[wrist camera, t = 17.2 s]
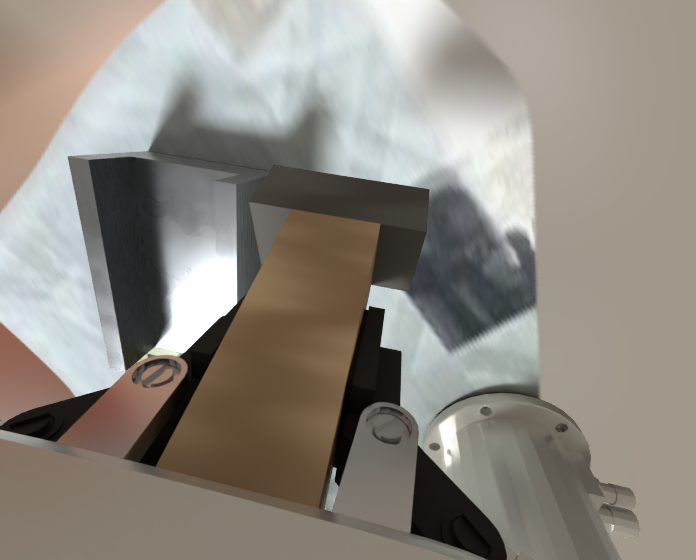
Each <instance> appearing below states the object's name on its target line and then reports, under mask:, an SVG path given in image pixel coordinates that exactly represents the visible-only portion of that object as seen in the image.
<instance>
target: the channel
mask: <svg viewBox="0 0 696 560" xmlns="http://www.w3.org/2000/svg"><path fill="white" fill-rule="evenodd" d="M68 160H69V165H70V170H71V175H72V180H73V185H74V190H75V195H76V200H77V205H78V210H79V215H80V220H81V225H82V230H83V235H84V240H85V245H86V250H87V255H88V261H89V266H90V271H91V276H92V281H93V286H94V291H95V296H96V301H97V306H98V311H99V316H100V321H101V326H102V331H103V336H104V341H105V346H106V351H107V356H108V361H109V366H110V368H113V369H117V370H122V371H127V370H128V369H129V368H130V367H131V366H133V365H134V364H135V363H136V362H137V361H139V360H140V359H141V358H142V357H143V356H145V355H146V354H147V353H148V352H149V351H151V350H152V349H153V348H154V347H158V348H162V349H167V350H171V351H176V352H180V353H184V352H185V351H186V350H187V349H188V348H189V347H190V346H191V345H192V344H193V343H194V342H195V341H196V340H197V339H198V338H199V337H200V336H201V335H202V334H203V333H204V332H205V331H206V330H207V329H208V328H209V327H210V326H211V325H212V324H213V323H214V322H215V321H216V320H217V319H218V318H220V317H221V316H223V315H226V314H227V313H228V312H229V311H230V310H231V309H232V308H233V307H234V306H235V305H236V304H237V303H238V301H239V300H240V299H241V298H242V297H243V296H244V295H245V294H246V293H247V292H248V291H249V289H250V287H251V285H252V283H253V281H254V280H255V278H256V276H257V274H258V272H259V270H260V268H261V266H262V264H261V260H260V255H259V250H258V245H257V240H256V235H255V230H254V225H253V220H252V215H251V210H250V204H249V201H250V200H251V198H252V197H253V195H254V194H255V193H256V191H257V190H258V188H259V187H260V185H261V184H262V182H263V181H264V179H265V178H266V177H267V175H268V174H269V172H270V171H266V170H260V169H254V168H247V167H241V166H235V165H229V164H223V163H216V162H210V161H204V160H198V159H192V158H185V157H179V156H173V155H167V154H161V153H155V152H148V151H146V152H130V153H113V154H97V155H81V156H68Z"/></svg>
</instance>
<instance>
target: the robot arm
mask: <svg viewBox="0 0 696 560" xmlns="http://www.w3.org/2000/svg"><path fill="white" fill-rule="evenodd" d="M247 293H248V292H247ZM247 293H246V294H245V295H244V296H243V297H242V298H241V299H240V300H239V301H238V303H237V304H236V305H235V306H234V307H233V308H232V309H231V310H230V311H229V312H228V313H227V314H226V315H223V316H221V317H220V318H218V319H217V320H216V321H215V322H214V323H213V324H212V325H211V326H210V327H209V328H208V329H207V330H206V331H205V332H204V333H203V334H202V335H201V336H200V337H199V338H198V339H197V340H196V341H195V342H194V343H193V344H192V345H191V346H190V347H189V348H188V349H187V350H186V351H185V352H184V353H183V354H182V355H181V356H180V357H177V356H173V355H159V356H153V357H149V358H146V359H144V360H142V361H140V362H138V363H136V364H135V365H133V366H132V367H131V368H130V369H129V370H128V371H127V372H126V373H125V374H124V375H123V376H122V377H121V378H120V379H119V380H118V381H117V382H116V383H115V384H114V385H113V386H112V387H111V388H107V389H104V390H100V391H96V392H93V393H89V394H85V395H82V396H78V397H75V398H71V399H68V400H64V401H60V402H57V403H53V404H49V405H46V406H42V407H38V408H35V409H32V410H29V411H26V412H24V413H21V414H19V415H17V416H15V417H14V418H12V419H10V420H8V421H7V422H6V423H4V424H3V423H2V421H1V420H0V560H621V558H620V556H619V554H618V552H617V550H616V548H615V546H614V544H613V542H612V540H611V538H610V536H609V534H614V535H618V536H622V537H626V538H630V539H636V538H637V537H638V536H639V532H640V528H639V522H638V520H637V517H636V515H635V514H634V513H633V512H632V511H631V510H629V509H633V508H634V507H635V504H636V500H635V496H634V493H633V492H632V491H631V489H629V488H626V487H621V486H617V485H613V484H604V483H600V482H599V480H598V479H596V478H595V477H594V476H593V474H592V472H591V470H590V461H591V455H590V450H589V445H588V443H587V441H586V440H585V438H584V436H583V434H582V432H581V430H580V429H579V428H578V426H577V425H576V423H575V422H574V420H573V419H571V418H570V417H569V416H568V415H567V414H566V413H565V412H564V411H562V410H561V409H559V408H557V407H555V406H554V405H552V404H550V403H548V402H545V401H543V400H540V399H538V398H535V397H530V396H526V395H521V394H511V393H494V394H484V395H479V396H475V397H470V398H467V399H465V400H462V401H460V402H457V403H455V404H453V405H452V406H450V407H448V408H447V409H445V410H444V411H443V412H441V413H440V414H439V415H438V416H437V417H436V418H435V419H434V420H433V422H432V423H431V424H430V426H429V427H428V429H427V432H426V434H425V437H424V442H423V450H422V449H421V448H420V447H419V446H418V436H419V431H418V425H417V423H416V421H415V419H414V417H413V416H412V415H411V414H410V413H409V412H408V411H406V410H405V409H404V408H402V407H400V391H401V351H398V350H393V349H388V348H383V347H380V344H381V336H382V329H383V321H384V313H385V309H381V308H376V307H371V306H369V310H364V313H363V317H362V321H361V325H360V329H359V334H358V338H357V342H356V346H355V350H354V354H353V358H352V362H351V366H350V370H349V374H348V379H347V383H346V388H345V394H344V400H343V406H342V412H341V419H340V425H339V431H338V437H337V444H336V450H335V456H334V462H333V467H335V468H337V470H336V476H335V482H336V483H337V485H338V486H339V490H338V493H337V496H336V500H335V503H334V506H333V510H332V512H330V511H326V510H322V509H318V508H315V507H311V506H307V505H303V504H299V503H295V502H291V501H288V500H284V499H280V498H276V497H272V496H268V495H264V494H260V493H257V492H253V491H249V490H245V489H241V488H237V487H233V486H229V485H225V484H221V483H217V482H213V481H209V480H205V479H201V478H197V477H193V476H189V475H185V474H181V473H178V472H174V471H170V470H166V469H162V468H158V467H156V465H157V463H158V461H159V459H160V457H161V456H162V454H163V452H164V450H165V448H166V446H167V444H168V442H169V440H170V439H171V437H172V435H173V433H174V431H175V429H176V427H177V425H178V423H179V421H180V420H181V418H182V416H183V414H184V412H185V410H186V408H187V406H188V404H189V403H190V401H191V399H192V397H193V395H194V393H195V391H196V389H197V387H198V386H199V384H200V382H201V380H202V378H203V376H204V374H205V372H206V370H207V369H208V367H209V365H210V363H211V361H212V359H213V357H214V355H215V353H216V351H217V350H218V348H219V346H220V344H221V342H222V340H223V338H224V336H225V334H226V333H227V331H228V329H229V327H230V325H231V323H232V321H233V319H234V317H235V316H236V314H237V312H238V310H239V308H240V306H241V304H242V302H243V300H244V299H245V297H246V295H247ZM604 502H606V503H609V504H611V505H609V504H605V503H604ZM626 508H627V509H626ZM608 533H609V534H608Z"/></svg>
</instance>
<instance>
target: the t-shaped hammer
mask: <svg viewBox="0 0 696 560" xmlns="http://www.w3.org/2000/svg"><path fill="white" fill-rule="evenodd" d="M429 190H430V189H424V188H417V187H411V186H404V185H398V184H392V183H385V182H379V181H372V180H366V179H359V178H353V177H347V176H340V175H334V174H327V173H321V172H314V171H308V170H302V169H295V168H289V167H282V166H276V165H274V166H273V168H272V169H271V171H270V172H269V174H268V175H267V177H266V178H265V179H264V181H263V182H262V184H261V185H260V187H259V188H258V190H257V191H256V193H255V194H254V195H253V197H252V198H251V200H250V201H249V204H250V210H251V215H252V220H253V225H254V230H255V235H256V240H257V245H258V250H259V255H260V260H261V264H262V266H261V268H260V270H259V272H258V274H257V276H256V278H255V280H254V281H253V283H252V285H251V287H250V289H249V291H248V293H247V295H246V297H245V299H244V300H243V302H242V304H241V306H240V308H239V310H238V312H237V314H236V316H235V317H234V319H233V321H232V323H231V325H230V327H229V329H228V331H227V333H226V334H225V336H224V338H223V340H222V342H221V344H220V346H219V348H218V350H217V351H216V353H215V355H214V357H213V359H212V361H211V363H210V365H209V367H208V369H207V370H206V372H205V374H204V376H203V378H202V380H201V382H200V384H199V386H198V387H197V389H196V391H195V393H194V395H193V397H192V399H191V401H190V403H189V404H188V406H187V408H186V410H185V412H184V414H183V416H182V418H181V420H180V421H179V423H178V425H177V427H176V429H175V431H174V433H173V435H172V437H171V439H170V440H169V442H168V444H167V446H166V448H165V450H164V452H163V454H162V456H161V457H160V459H159V461H158V463H157V465H156V467H158V468H162V469H166V470H170V471H174V472H178V473H181V474H185V475H189V476H193V477H197V478H201V479H205V480H209V481H213V482H217V483H221V484H225V485H229V486H233V487H237V488H241V489H245V490H249V491H253V492H257V493H260V494H264V495H268V496H272V497H276V498H280V499H284V500H288V501H291V502H295V503H299V504H303V505H307V506H311V507H315V508H318V509H322V510H324V508H325V503H326V498H327V493H328V489H329V484H330V479H331V474H332V469H333V462H334V456H335V450H336V444H337V437H338V431H339V425H340V419H341V412H342V406H343V400H344V394H345V388H346V383H347V379H348V374H349V370H350V366H351V362H352V358H353V354H354V350H355V346H356V342H357V338H358V334H359V329H360V325H361V321H362V317H363V313H364V310H366V306H367V302H368V297H369V292H370V287H371V285H376V286H381V287H387V288H392V289H397V290H403V291H408V292H409V291H410V287H411V284H412V280H413V277H414V273H415V270H416V267H417V263H418V260H419V256H420V253H421V249H422V246H423V242H424V239H425V236H426V232H427V219H428V204H429Z"/></svg>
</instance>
